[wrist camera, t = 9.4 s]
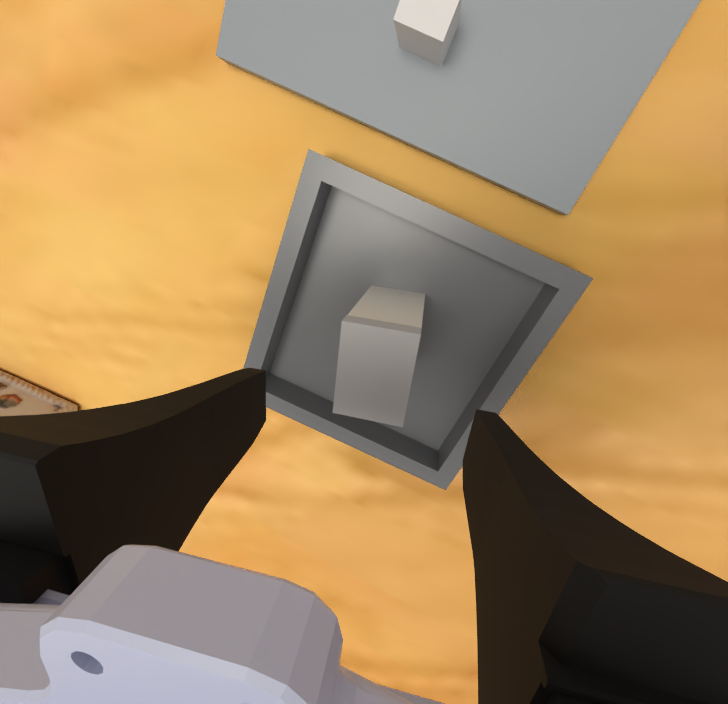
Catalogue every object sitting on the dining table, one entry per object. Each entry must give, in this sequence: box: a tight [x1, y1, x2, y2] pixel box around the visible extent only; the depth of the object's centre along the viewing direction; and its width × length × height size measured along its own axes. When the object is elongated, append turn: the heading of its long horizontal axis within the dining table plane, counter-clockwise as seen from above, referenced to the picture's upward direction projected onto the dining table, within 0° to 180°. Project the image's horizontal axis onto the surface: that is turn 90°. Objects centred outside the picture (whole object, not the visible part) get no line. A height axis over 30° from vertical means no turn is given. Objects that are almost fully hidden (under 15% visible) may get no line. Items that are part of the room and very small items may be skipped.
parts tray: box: [243, 149, 593, 490], centre depth 20 cm, size 14×14×2 cm
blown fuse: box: [332, 285, 425, 427], centre depth 17 cm, size 3×4×7 cm
